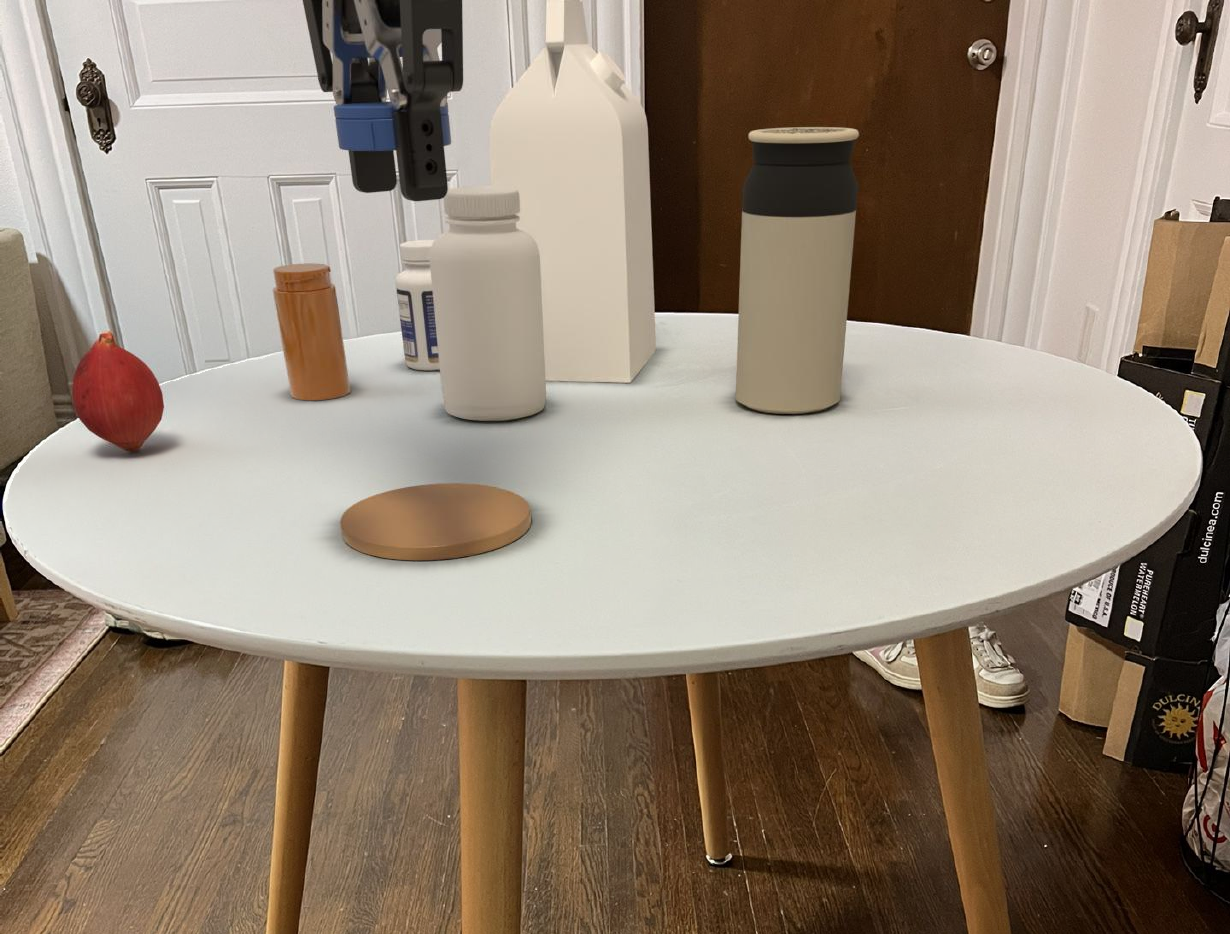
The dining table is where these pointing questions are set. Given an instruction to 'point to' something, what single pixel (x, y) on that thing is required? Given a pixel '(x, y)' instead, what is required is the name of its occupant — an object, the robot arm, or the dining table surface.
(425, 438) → the dining table surface
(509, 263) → the pill bottle
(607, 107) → the milk
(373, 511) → the coaster
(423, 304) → the pill bottle
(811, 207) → the travel mug
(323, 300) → the jar
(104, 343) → the onion
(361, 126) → the lid
